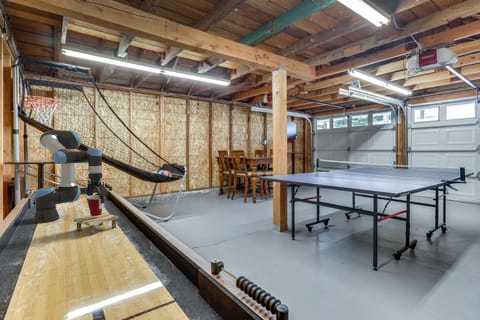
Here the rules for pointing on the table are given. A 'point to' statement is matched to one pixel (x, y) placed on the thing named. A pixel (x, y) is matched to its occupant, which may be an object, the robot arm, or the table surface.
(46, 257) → the table surface
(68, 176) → the robot arm
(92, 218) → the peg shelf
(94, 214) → the plastic cup
